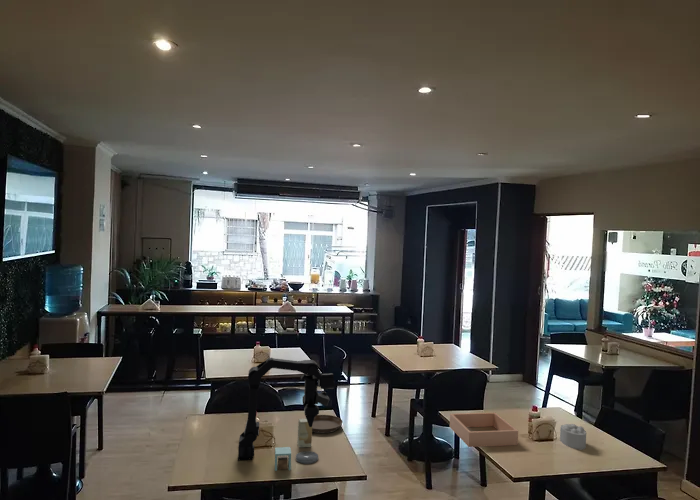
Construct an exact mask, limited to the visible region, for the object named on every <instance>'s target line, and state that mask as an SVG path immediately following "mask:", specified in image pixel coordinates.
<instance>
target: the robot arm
mask: <svg viewBox="0 0 700 500" xmlns="http://www.w3.org/2000/svg"><path fill="white" fill-rule="evenodd" d="M272 369H278V370H285V371H293V372H294V371H296V372H299V373H302V375H301V376H300V380H301V381H304V389H303V392H304V393H303V394H304V395H303V396H302V405H303V408H304V409H303V411H304V416H305V418H306V419H307V422H308V424H309V427H312V424H313V421H314V417H315V416H316V415H320V407H319V406H318V405H319V404H320V405H323V406H324V407H325V406H326V407H328V405H329V401H330V397H329V396H328V395H327V392H326V391H325V390H328V389H329V390H330V389H331V390H333V389H335V380H334V379H335V378H334V377H335V376H334V373H332V372H330V373H322V372H321V370H320V368H319V366H318V363H317V362H316V361H315V360H313V359H304V360H291V359H282V358H273V357H268V358H267V359H265V360H264V361H262V362H261V363H259V364H258V365H256V366H252V367H250V369H249V370H248V376H247V381H248V387H249V394H248V395H249V397H248V410H247V420H246V423H245V427H244V431H243V432H242V433H241V434H240V435H239V437H238V438H239V440H238V445H237V446H238V452H237V453H238V454H237V455H238V456H237V461H253V459H254V457H255V445H254V442H255V441H257V437H259V435H260V421H257V407H258V396H259V395H258V391H259V388H260V385H261V382H262V381H261V380H262V377H264V376H265V375H266V374H267V373H268V372H269V371H270V370H272ZM318 388H320V390H322V389H323V390H324V391H323V390H322V392H320V393H319V392H318Z"/></svg>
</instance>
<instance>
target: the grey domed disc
mask: <svg viewBox="0 0 700 500" xmlns="http://www.w3.org/2000/svg"><path fill="white" fill-rule="evenodd" d="M295 460H296V462H298V463H299V464H304V465H306V464H307V465H309V464H314V463H316V462H317V461H318V460H319V454H318V453H316V452H315V451H310V450H306V451H300V452H298V453H296V455H295Z"/></svg>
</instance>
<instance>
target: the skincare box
mask: <svg viewBox="0 0 700 500" xmlns="http://www.w3.org/2000/svg"><path fill="white" fill-rule="evenodd" d="M297 424H298V426H297V440H296V441H297V442H296V443H297V447H298V448H310V447H312V441H313V440H312V439H313V432H312V427H309V424H308V422H307V419H305V418H298V423H297Z"/></svg>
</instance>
